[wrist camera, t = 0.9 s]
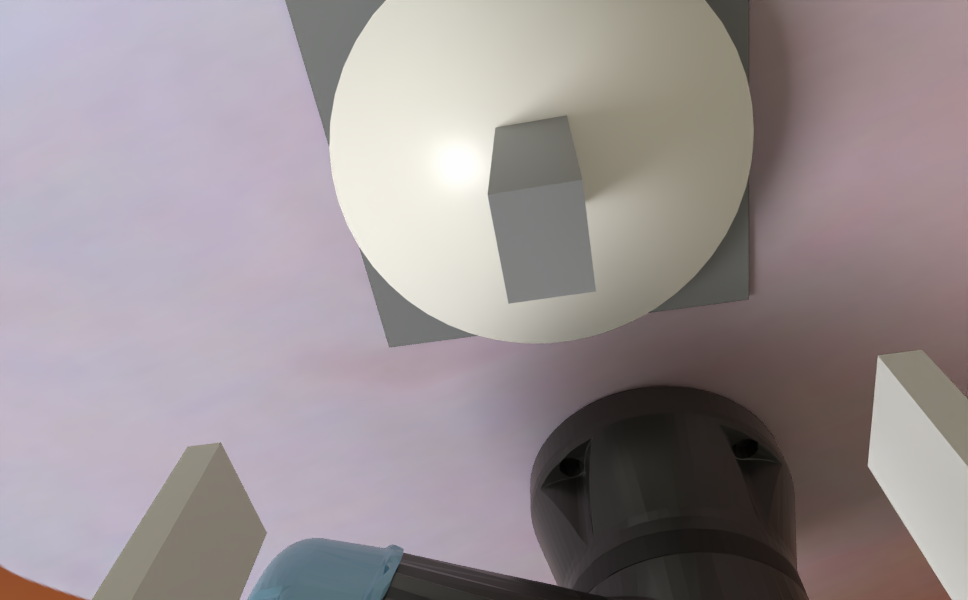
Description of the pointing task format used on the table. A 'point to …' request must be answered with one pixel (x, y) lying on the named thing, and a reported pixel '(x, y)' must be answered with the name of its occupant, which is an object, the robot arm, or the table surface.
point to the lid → (541, 157)
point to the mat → (325, 48)
